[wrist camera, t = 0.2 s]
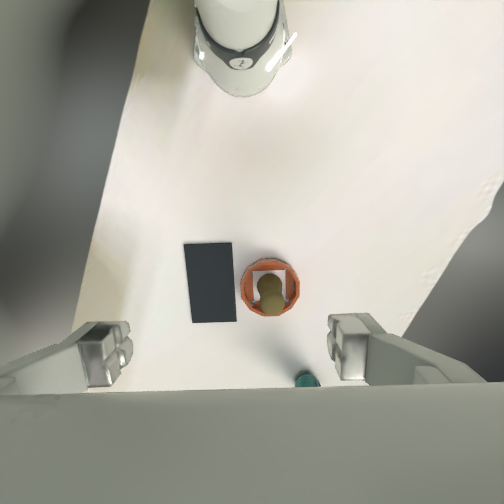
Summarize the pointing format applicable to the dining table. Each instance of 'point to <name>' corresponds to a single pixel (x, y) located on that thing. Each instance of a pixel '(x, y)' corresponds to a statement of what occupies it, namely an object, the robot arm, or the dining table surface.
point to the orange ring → (263, 266)
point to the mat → (211, 282)
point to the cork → (270, 294)
